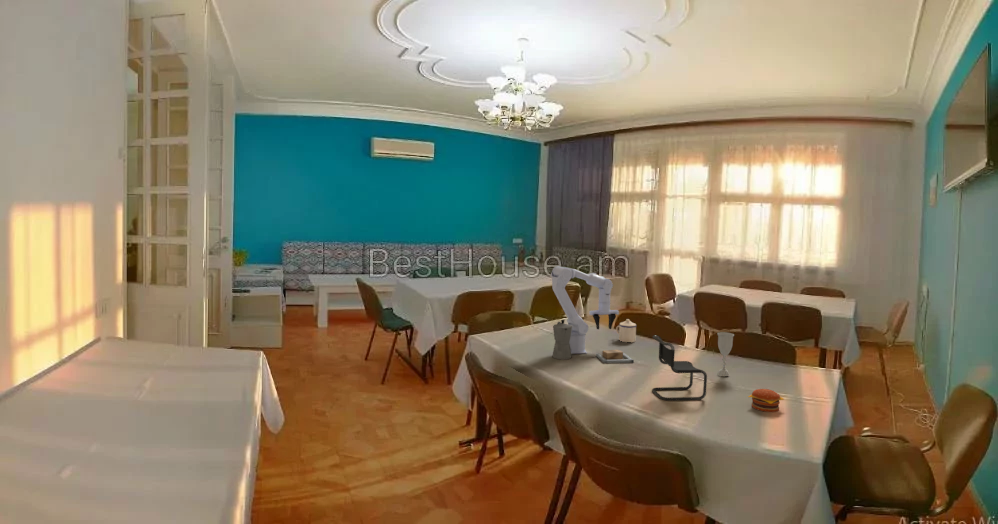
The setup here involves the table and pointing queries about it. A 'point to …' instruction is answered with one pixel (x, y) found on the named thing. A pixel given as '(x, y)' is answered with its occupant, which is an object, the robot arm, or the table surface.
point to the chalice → (724, 349)
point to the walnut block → (612, 354)
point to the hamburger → (765, 400)
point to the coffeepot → (562, 340)
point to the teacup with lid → (627, 331)
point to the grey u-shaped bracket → (626, 360)
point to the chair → (677, 370)
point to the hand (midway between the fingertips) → (603, 328)
